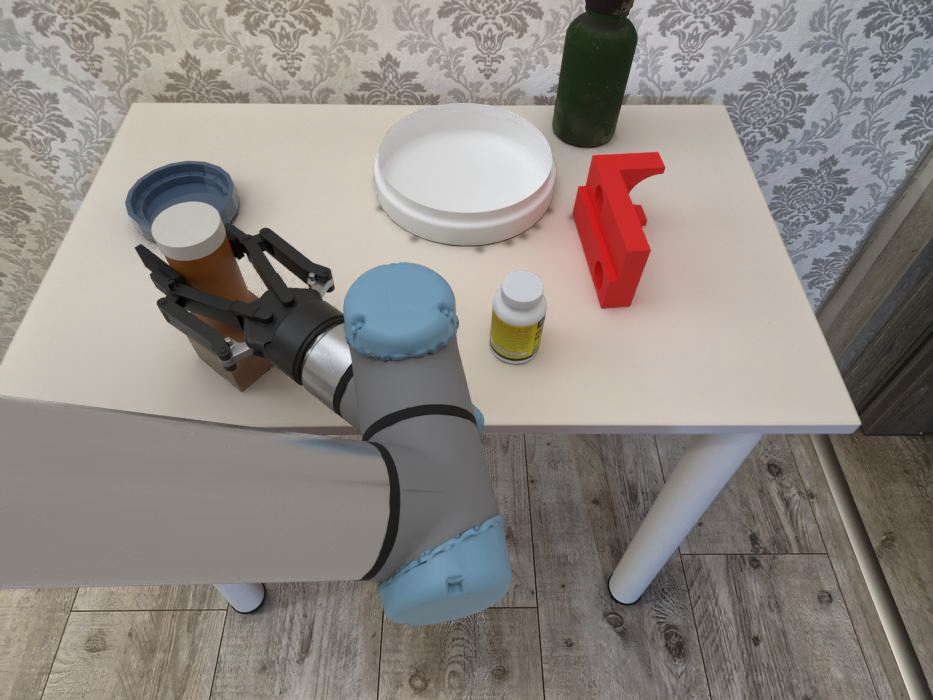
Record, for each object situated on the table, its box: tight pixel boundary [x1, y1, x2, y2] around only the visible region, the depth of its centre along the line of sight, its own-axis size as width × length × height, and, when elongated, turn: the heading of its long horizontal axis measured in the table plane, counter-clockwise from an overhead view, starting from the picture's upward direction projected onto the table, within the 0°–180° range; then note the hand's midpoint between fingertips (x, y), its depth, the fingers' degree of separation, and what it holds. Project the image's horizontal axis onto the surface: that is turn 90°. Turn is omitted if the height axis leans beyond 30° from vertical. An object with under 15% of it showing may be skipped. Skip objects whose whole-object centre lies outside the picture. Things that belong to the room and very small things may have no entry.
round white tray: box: [373, 102, 557, 247], centre depth 92 cm, size 27×27×6 cm
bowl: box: [124, 160, 240, 242], centre depth 87 cm, size 14×15×4 cm
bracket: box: [572, 151, 667, 309], centre depth 81 cm, size 18×10×10 cm
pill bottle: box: [489, 270, 548, 365], centre depth 72 cm, size 6×6×11 cm
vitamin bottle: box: [151, 202, 250, 321], centre depth 62 cm, size 6×6×11 cm
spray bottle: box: [551, 0, 639, 147], centre depth 92 cm, size 10×10×25 cm
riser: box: [185, 289, 275, 393], centre depth 72 cm, size 8×8×7 cm
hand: (171, 237), depth 63 cm, fingers closed on vitamin bottle, 6 cm apart
